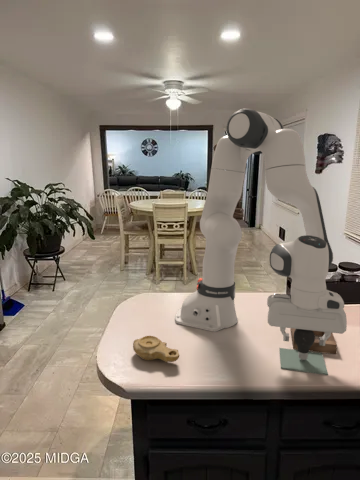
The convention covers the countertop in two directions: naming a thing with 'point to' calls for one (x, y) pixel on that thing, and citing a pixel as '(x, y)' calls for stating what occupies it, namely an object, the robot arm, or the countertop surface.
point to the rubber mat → (310, 365)
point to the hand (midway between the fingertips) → (303, 342)
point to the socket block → (329, 344)
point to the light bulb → (303, 342)
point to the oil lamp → (154, 349)
